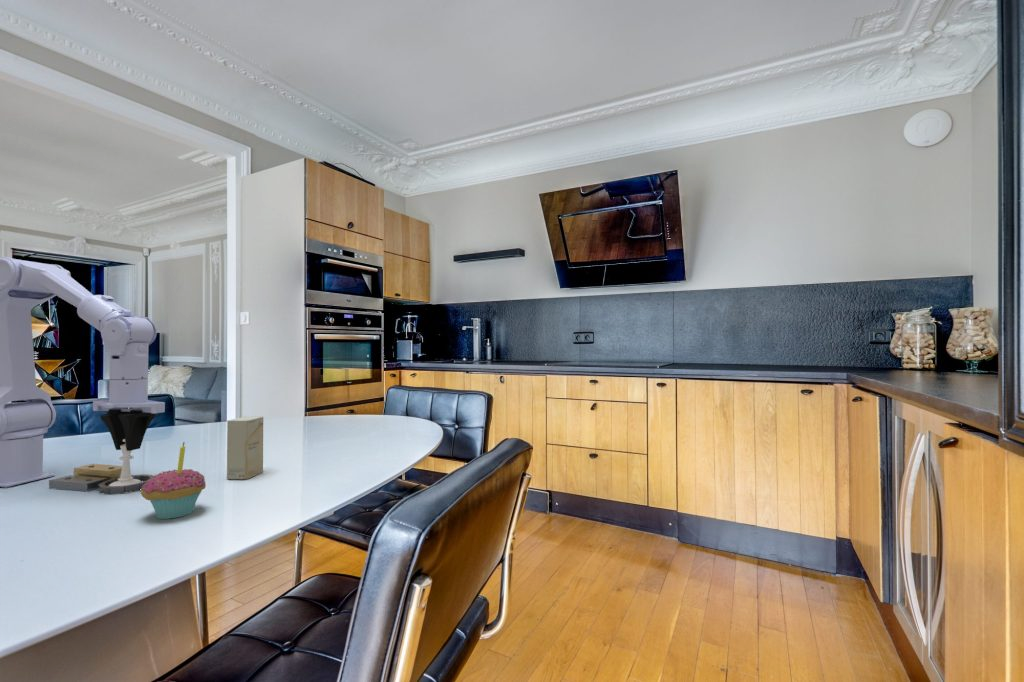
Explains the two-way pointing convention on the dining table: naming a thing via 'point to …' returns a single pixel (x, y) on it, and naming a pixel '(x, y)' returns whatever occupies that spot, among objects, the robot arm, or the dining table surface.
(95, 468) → the tan wooden block
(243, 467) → the skincare box
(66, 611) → the dining table surface
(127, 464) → the chess piece
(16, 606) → the dining table surface
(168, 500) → the cupcake
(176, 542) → the dining table surface
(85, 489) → the dark gray flat piece
